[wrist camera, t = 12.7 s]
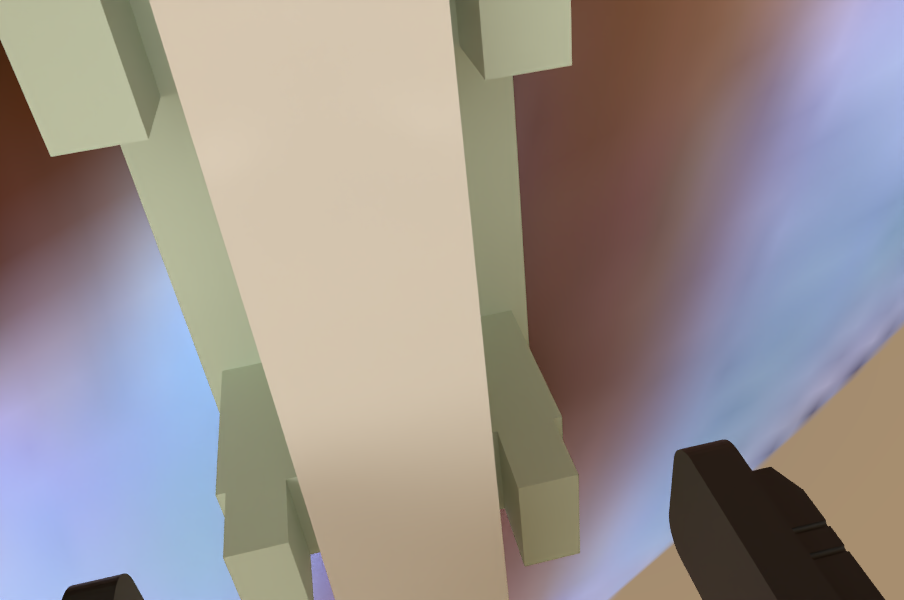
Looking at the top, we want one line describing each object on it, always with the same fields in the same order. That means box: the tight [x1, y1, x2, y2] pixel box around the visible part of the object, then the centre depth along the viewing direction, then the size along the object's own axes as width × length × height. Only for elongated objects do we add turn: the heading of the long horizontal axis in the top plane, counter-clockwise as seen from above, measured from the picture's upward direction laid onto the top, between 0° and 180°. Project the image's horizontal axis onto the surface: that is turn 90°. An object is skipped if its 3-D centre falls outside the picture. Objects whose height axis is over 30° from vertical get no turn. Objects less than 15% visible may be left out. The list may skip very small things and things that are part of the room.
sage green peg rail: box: [0, 0, 580, 600], centre depth 19 cm, size 22×10×8 cm, turn 6°
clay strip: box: [149, 0, 509, 600], centre depth 15 cm, size 18×4×4 cm, turn 6°
